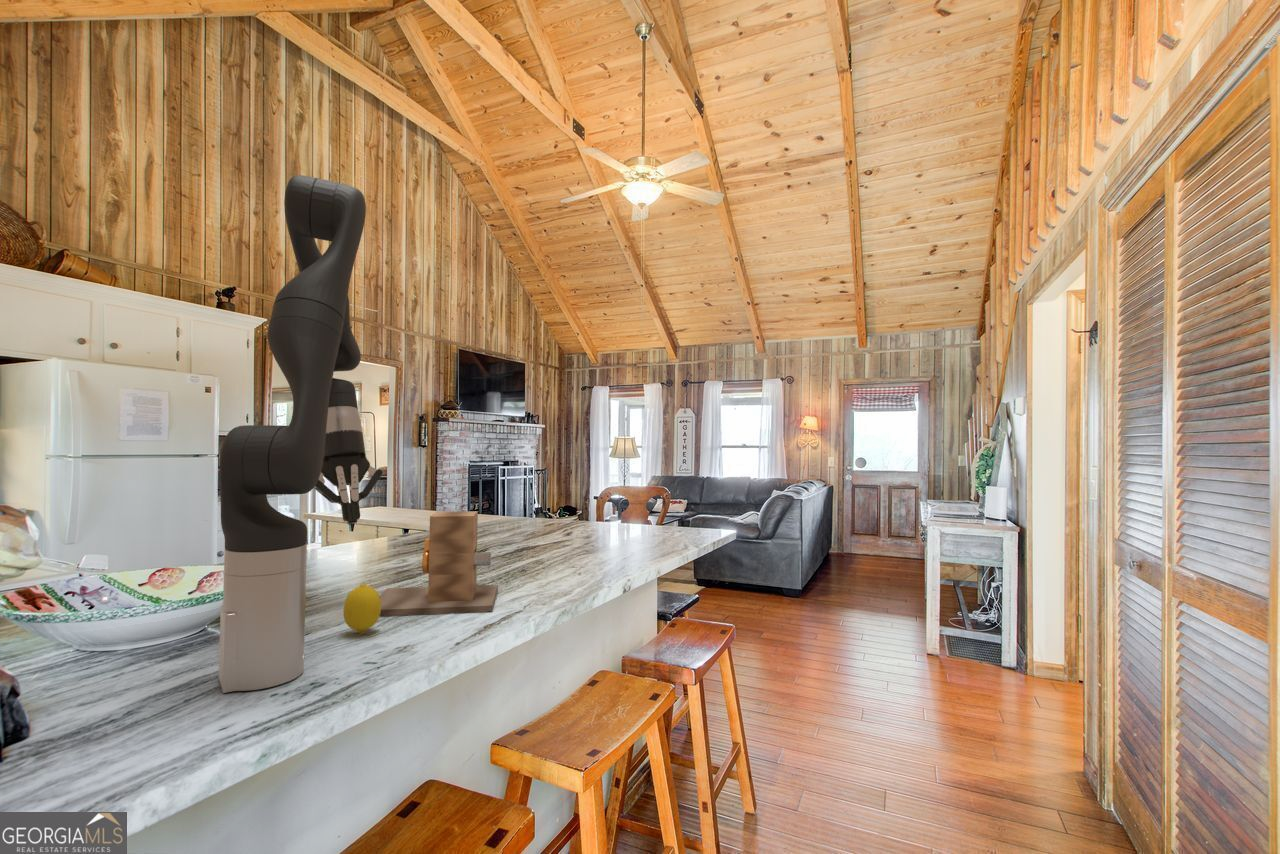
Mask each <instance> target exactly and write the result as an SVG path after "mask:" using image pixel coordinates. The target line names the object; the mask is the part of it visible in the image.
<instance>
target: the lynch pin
mask: <svg viewBox="0 0 1280 854" xmlns="http://www.w3.org/2000/svg"><path fill="white" fill-rule="evenodd" d="M422 552H423V553H422V563H421V564H422V565H421V566H422V568H421V569H422V573H423V574H429V537H426V539H424V549H423V551H422ZM474 566H477V567H487V566H488V567H490V566H492V552H491V551H487V552H484V551H483V552H477V553H474Z"/></svg>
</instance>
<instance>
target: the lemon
mask: <svg viewBox="0 0 1280 854" xmlns="http://www.w3.org/2000/svg"><path fill="white" fill-rule="evenodd" d="M379 596H380V595H379V592H378V591H377V590H376V589H375V588H373V587H371V586H369V585H367V584H366V583H362V584H360V585H359V586H357V587H355V588H354V589H352V590H351V591H350V592H349V593H348V595H347V596H346V598H345V600H344V603H343V604H344V605H343V618H344V621H345V623H346V625H347V626H348V628H350V629H351V630H355V631H357V632H358V633H359V634H364V633H365V632H366V631H367V630H368V629H370V628H372V627H374V625H375V624H376V623H377V622H378V621H379V619H380V617H381V616H380V612H381V601H380V597H379ZM379 616H380V617H379Z"/></svg>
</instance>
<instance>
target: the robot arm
mask: <svg viewBox="0 0 1280 854" xmlns="http://www.w3.org/2000/svg"><path fill="white" fill-rule="evenodd" d="M283 202H284V203H283V205H284V208H283V209H284V216H285V221H286V227H287V231H288V235H289V239H290V242H291V245H292V250H293V253H294V258H295V260H296V264H297V267H298V270H299V273H298V274H297V275H295V276H294V277H292V279H290V280H289V281H288V282H286V284H285V285H284V286H283V287H282V288H281V289H280V290H279V291H278V293H277V294H276V296H275V299H274V302H273V307H272V310H271V315H270V319H269V323H268V328H267V335H266V338H267V339H266V340H267V342H268V346H269V350H270V351H271V352H270V353H272V355H273V358H274V360H275V361H276V364H277V365H278V367H279V369H280V370H281V372H282V374H283V375H284V378H285V379H286V381H287V384H288V386H289V389H290V391H291V394H292V416H291V419H290V423H289V425H276V424H275V425H268V424H267V425H263V424H262V425H261V424H260V425H259V424H258V425H256V424H255V425H250V424H249V425H245V424H244V425H239V426H236V427H234V428H232V429H231V430H229V431H228V433H227V434H226V436H225V438H224V440H223V442H222V445H221V449H220V453H219V467H218V468H219V473H218V474H219V491H220V494H219V495H220V525H221V530H222V534H223V536H224V538H223V539H224V555H223V556H224V559H223V591H222V593H223V596H222V604H221V606H220V619H219V651H218V653H219V654H218V682H219V685H220V689H221V691H222V692H221V693H225V694H226V693H231V692H241V691H242V692H243V691H244V692H245V691H246V692H247V691H256V690H257V691H258V690H262V689H268V688H272V687H277V686H280V685H282V684H286V683H289V682H290V681H293V680H295V679H296V678H298V677H300V676H301V675H302V674H303V672H304V670H305V669H304V668H305V635H306V634H305V631H306V597H307V596H306V593H307V589H306V588H307V558H308V557H307V556H308V554H307V553H308V551H307V550H308V527H307V525H306V523H305V522H303V521H302V520H300V519H297V518H294V517H291V516H288V515H286V514H284V513H282V512H280V511H278V510H277V509H275V507H273V506H272V505H271V504H270V502H269V500H268V497H267V496H268V495H273V496H274V495H280V496H281V495H286V496H287V495H305V494H308V493H309V492H311V491H312V490H313V489H315V491H316V492H318V493H319V494H320V495H321V496H322V497H324V498H325V499H326V501H328V502H329V503H331V504H338V505H340V507H341V515H342V516H341V517H342V520H343V522H347V523H346V524H347V525H351V524H357V522H358V520H359V519H360V517H361V509H360V501H362V500H364V499H365V500H366V498H368V496H369V495H370V493H371V491H372V490H373V489H374V487H375V485H376V484H377V482H378V481H379V479H380V478H381V477H382V475H383V470H382V469H380V468H379V469H377V468H375V467H373V466H371V463H370V461H369V459H368V458H367V456H366V447H365V446H366V445H365V441H364V434H363V425H362V419H361V416H360V412H359V407H358V400H357V393H356V392H357V390H356V387H355V385H354V384H353V383H352V381H350V380H347V379H342V378H341V379H340V378H335V377H334V373H335V372H348V371H349V372H350V371H353V370H355V369H356V368H357V367H358V366H359V365H360V364H361V363H360V362H361V359H362V357H361V355H362V354H361V350H360V347H359V345H358V344H359V343H357V340H356V338H355V336H354V333H353V330H352V327H351V320H350V318H351V317H350V298H349V288H350V282H351V277H352V273H353V269H354V265H355V261H356V257H357V254H358V251H359V247H360V243H361V240H362V235H363V231H364V227H365V222H366V221H365V220H366V216H367V215H366V213H367V212H366V211H367V204H366V199H365V196H364V194H363V193H362V191H360V190H359V189H358V188H356V187H355V186H352V185H348V184H344V183H340V182H337V181H332V180H327V179H323V178H317V177H313V176H310V175H302V174H295V175H293V176H291V178H290V179H289V180H288V182H287V185H286V187H285V191H284V201H283ZM316 239H317V240H322V241H328V242H330V243H329V245H328V247H327V249H326V250H325V251H324V253H323V254H322V252H321V251H320V250H319V247H318V245H317V242H316ZM366 474H367V478H368V479H369V480H368V482H367V483H366V485H365V487H364V488H363V490H362V491H361V492H360V491H359V488H360V487H359V486H360V485H359V484H361V481H362V480H363V478H364V477H365V475H366ZM326 480H327V481H328V482H329V483H330V484H331V485H332V486H334V487H336V491H337V493H338V495H337V494H336V493H335V492H334V491H332V489H330V488H329V487H328V486H327V485H325V483H326ZM348 490H349V492H348Z"/></svg>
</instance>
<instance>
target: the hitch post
mask: <svg viewBox="0 0 1280 854" xmlns="http://www.w3.org/2000/svg"><path fill="white" fill-rule="evenodd" d="M478 512H479V511H473V510H471V511H470V510H469V511H468V510H465V511H464V510H463V511H435V512H434V513H433V514H432V515H430V516H429V533H428V534H429V537H428V538H429V573H428V585H427V586H421V587H420V586H419V587H417V586H415V587H413V586H412V587H390V588H389V587H388V588H386V590H385V589H384V591H383V592H382V593H381V594H380V595H379V597H380V601H381V612H380V616H379V618H381V617H398V616H399V617H400V616H401V617H402V616H404V617H405V616H426V615H446V614H447V615H449V614H450V615H451V613H454V614H471V613H470V612H479V613H488V612H487V611H492V610H494V607H493V606H494V605H495V603H496V602H495V601H496V600H497V593H498V591H499V590H498V589H499V585H498V584H481V585H479V584H478V585H477V583H478V581H477V577H478V576H477V575H478V573H477V572H478V566H474V553H478V524H479V522H478V519H479V518H478V516H479V515H478V514H479V513H478ZM494 602H495V603H494ZM492 612H493V611H492Z"/></svg>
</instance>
